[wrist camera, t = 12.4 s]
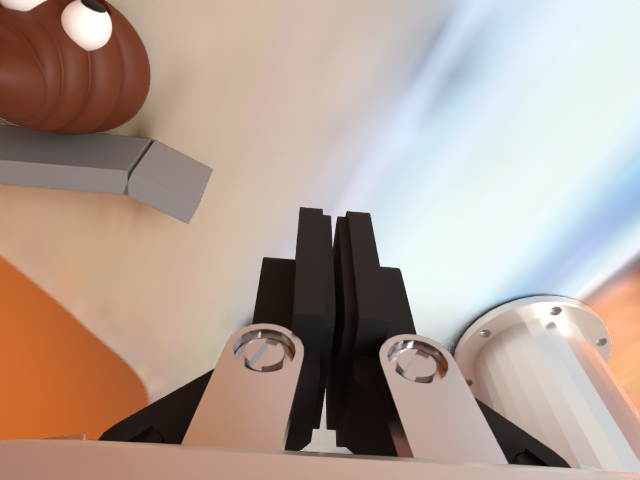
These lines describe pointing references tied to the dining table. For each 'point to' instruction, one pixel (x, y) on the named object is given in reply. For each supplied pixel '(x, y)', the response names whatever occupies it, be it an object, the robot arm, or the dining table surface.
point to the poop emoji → (70, 66)
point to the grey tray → (104, 167)
